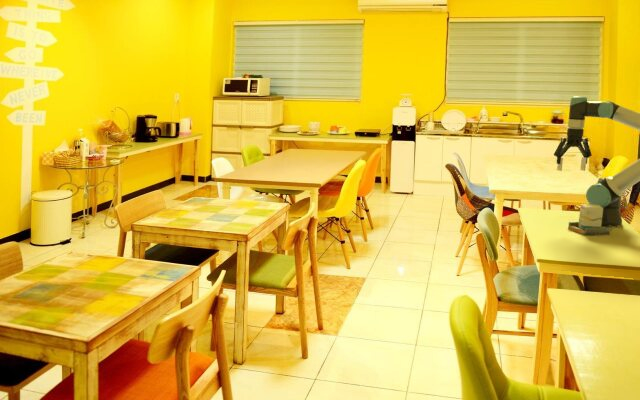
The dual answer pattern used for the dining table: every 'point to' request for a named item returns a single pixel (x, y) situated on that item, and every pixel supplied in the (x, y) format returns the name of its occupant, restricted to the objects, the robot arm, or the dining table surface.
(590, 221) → the ink box
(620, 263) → the dining table surface
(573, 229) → the grey and orange tray
